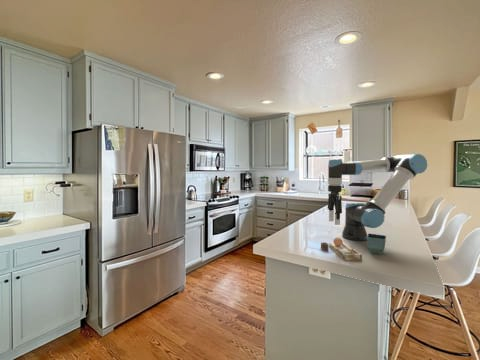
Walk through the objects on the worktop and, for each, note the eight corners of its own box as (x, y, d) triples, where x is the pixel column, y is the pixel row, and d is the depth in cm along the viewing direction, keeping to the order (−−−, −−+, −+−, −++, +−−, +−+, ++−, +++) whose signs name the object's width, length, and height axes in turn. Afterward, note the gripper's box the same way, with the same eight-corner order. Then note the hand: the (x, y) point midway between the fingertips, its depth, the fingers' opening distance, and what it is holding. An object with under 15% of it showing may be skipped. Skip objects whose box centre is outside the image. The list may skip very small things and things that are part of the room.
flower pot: (385, 256, 127) (385, 239, 127) (366, 253, 132) (366, 236, 131) (385, 251, 135) (386, 235, 134) (367, 248, 139) (368, 233, 139)
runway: (342, 246, 143) (342, 242, 143) (352, 253, 131) (352, 249, 131) (329, 246, 143) (329, 242, 143) (337, 253, 131) (337, 249, 131)
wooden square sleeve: (326, 248, 140) (326, 242, 140) (328, 250, 136) (328, 244, 136) (320, 248, 140) (320, 242, 139) (322, 250, 136) (322, 244, 136)
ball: (341, 248, 141) (340, 241, 145) (344, 243, 138) (343, 236, 142) (332, 247, 141) (331, 240, 145) (335, 241, 138) (334, 234, 142)
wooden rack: (353, 253, 131) (353, 248, 131) (361, 259, 122) (362, 254, 122) (336, 253, 131) (336, 248, 131) (343, 260, 122) (343, 254, 122)
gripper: (322, 183, 155) (321, 219, 156) (335, 186, 134) (335, 227, 135) (334, 183, 155) (333, 219, 156) (349, 186, 134) (348, 227, 135)
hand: (334, 222), depth 146 cm, fingers open, 8 cm apart
